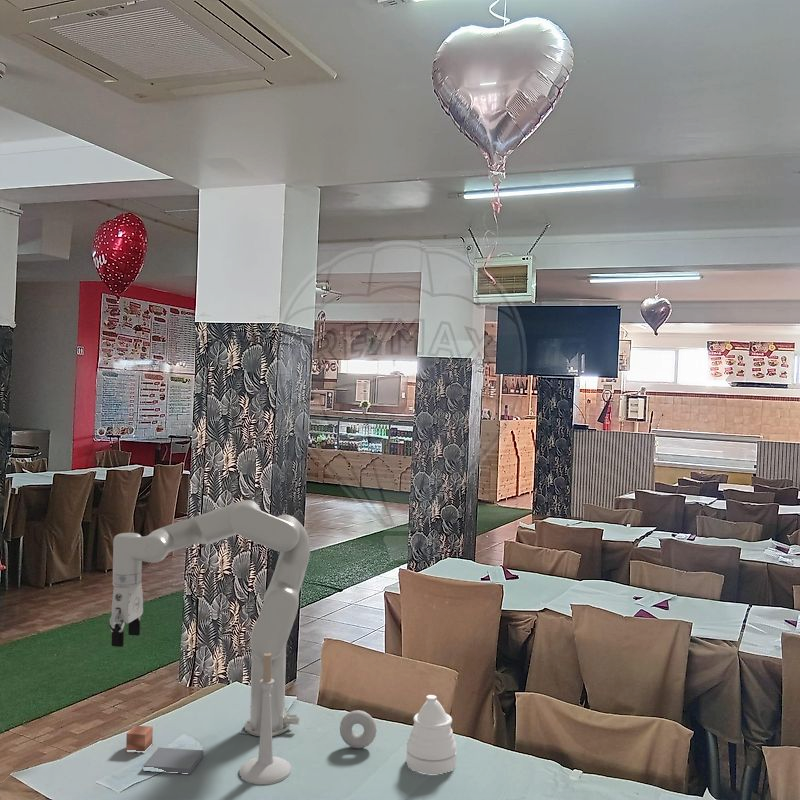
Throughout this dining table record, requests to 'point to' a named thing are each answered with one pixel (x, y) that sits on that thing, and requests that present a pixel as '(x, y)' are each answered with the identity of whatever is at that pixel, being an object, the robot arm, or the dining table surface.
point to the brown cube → (139, 738)
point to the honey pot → (431, 740)
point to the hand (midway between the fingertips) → (126, 640)
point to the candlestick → (265, 741)
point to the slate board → (174, 759)
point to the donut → (349, 735)
